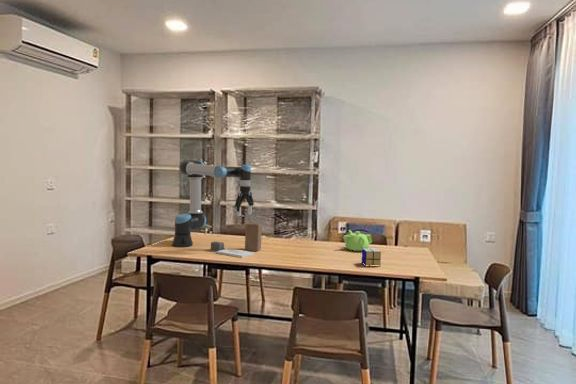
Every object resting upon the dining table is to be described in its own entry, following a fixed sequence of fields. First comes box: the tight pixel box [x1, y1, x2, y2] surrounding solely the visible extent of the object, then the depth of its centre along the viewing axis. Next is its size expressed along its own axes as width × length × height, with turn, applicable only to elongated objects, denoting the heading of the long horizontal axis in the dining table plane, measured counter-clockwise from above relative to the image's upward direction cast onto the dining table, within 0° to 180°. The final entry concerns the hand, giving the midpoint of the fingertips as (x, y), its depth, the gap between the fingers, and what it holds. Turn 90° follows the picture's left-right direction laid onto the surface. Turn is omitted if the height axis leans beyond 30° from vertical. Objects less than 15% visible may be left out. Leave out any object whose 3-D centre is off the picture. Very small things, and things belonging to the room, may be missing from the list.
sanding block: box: [210, 241, 225, 252], centre depth 314 cm, size 8×5×6 cm, turn 60°
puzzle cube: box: [361, 248, 382, 266], centre depth 286 cm, size 10×10×10 cm
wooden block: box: [244, 221, 263, 253], centre depth 319 cm, size 10×10×20 cm
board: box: [216, 247, 255, 258], centre depth 305 cm, size 22×14×2 cm, turn 60°
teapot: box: [342, 229, 373, 252], centre depth 335 cm, size 19×20×14 cm
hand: (244, 215), depth 313 cm, fingers open, 13 cm apart
